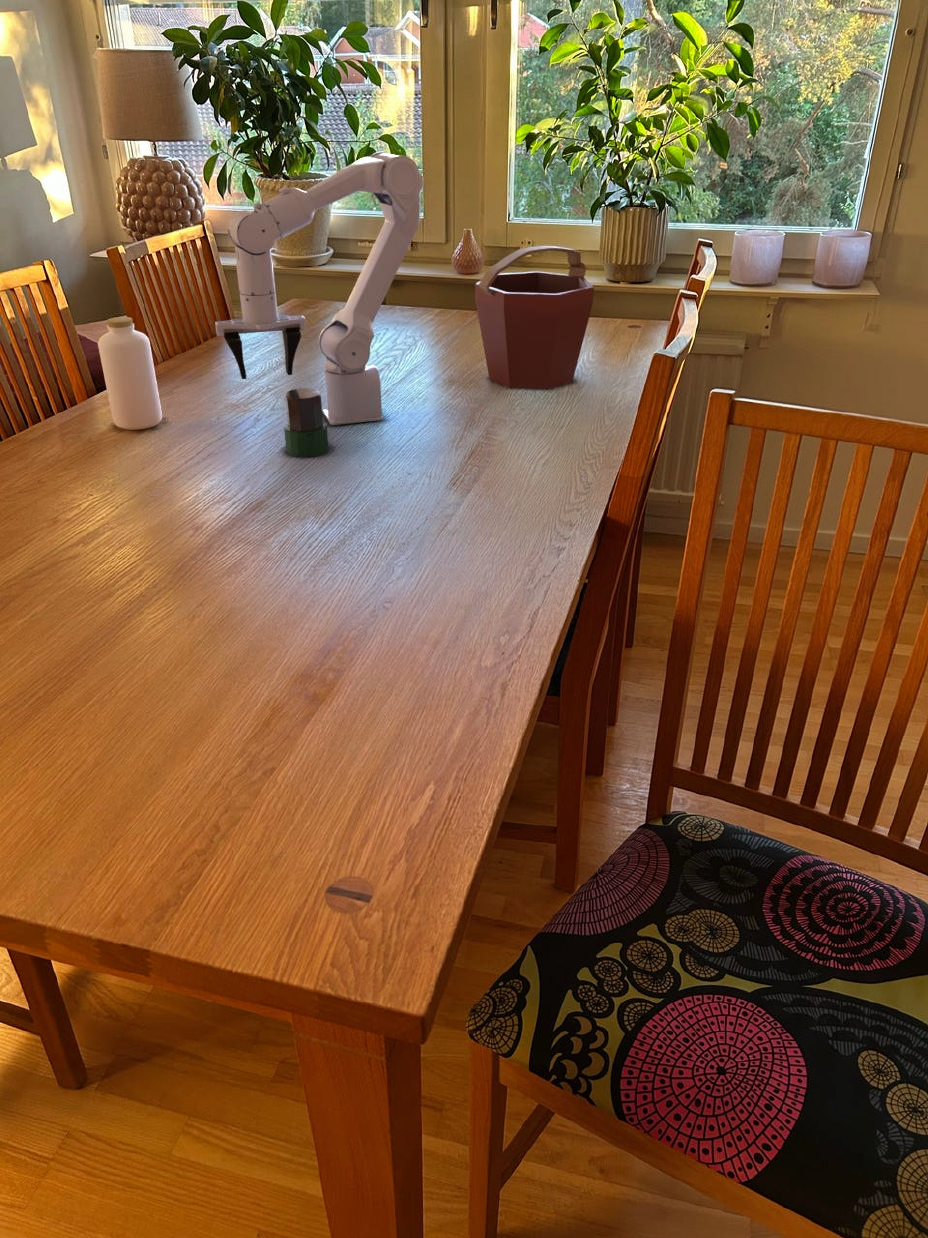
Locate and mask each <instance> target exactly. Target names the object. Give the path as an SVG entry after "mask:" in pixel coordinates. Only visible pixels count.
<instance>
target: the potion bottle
mask: <svg viewBox="0 0 928 1238" xmlns="http://www.w3.org/2000/svg"><path fill="white" fill-rule="evenodd" d="M106 323H107V325H106V328H107V330H108V331H107V332H106V333H105V334H103V335H102V336H101V337H100V338H98V341H97V347H98V352H99V357H100V362H101V367H102V372H103V377H104V382H105V388H106V392H107V397H108V402H109V407H110V412H111V413H110V414H111V417H112V421H113V423H114V425H115V426H117V427H118V428H120V429H123V430H126V431H127V430H129V431H139V430H145V429H149V428H153V427H155V426H157V425H158V424H160V422H161V421H162V420H163V412H162V406H161V399H160V395H159V388H158V383H157V378H156V371H155V365H154V360H153V353H152V347H151V343H150V339H149V337H148V336H147V335H146V334H145V333H143V332H141V331H138V330H136V329H135V323H134V322H133V318H132V317H129V316H117V317H111V318H108V319H107V320H106Z"/></svg>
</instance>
